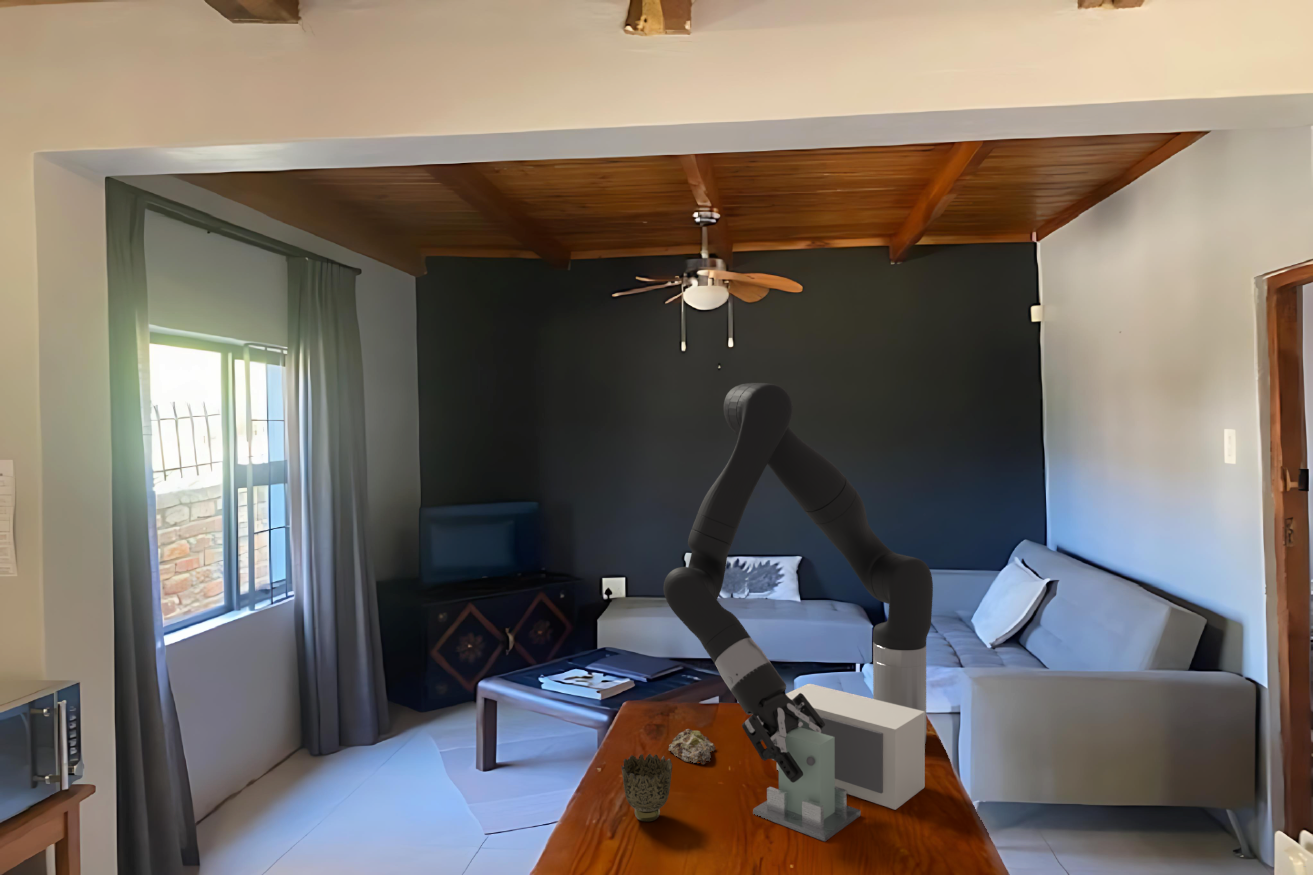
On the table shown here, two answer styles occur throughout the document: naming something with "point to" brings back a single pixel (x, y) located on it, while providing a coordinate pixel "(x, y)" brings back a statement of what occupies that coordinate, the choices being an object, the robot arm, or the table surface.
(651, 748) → the table surface
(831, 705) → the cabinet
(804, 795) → the pale green rectangular box
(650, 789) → the cup
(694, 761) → the mineral rock
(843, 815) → the grey holder base
